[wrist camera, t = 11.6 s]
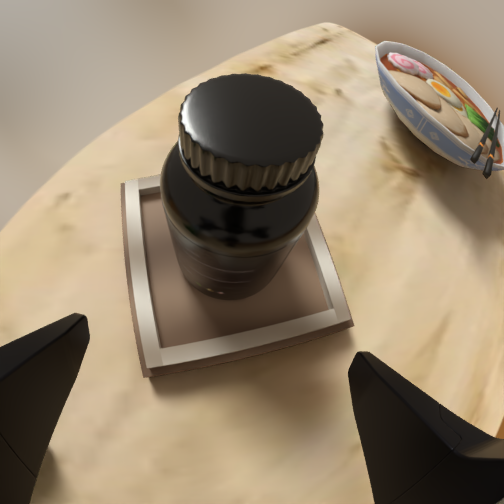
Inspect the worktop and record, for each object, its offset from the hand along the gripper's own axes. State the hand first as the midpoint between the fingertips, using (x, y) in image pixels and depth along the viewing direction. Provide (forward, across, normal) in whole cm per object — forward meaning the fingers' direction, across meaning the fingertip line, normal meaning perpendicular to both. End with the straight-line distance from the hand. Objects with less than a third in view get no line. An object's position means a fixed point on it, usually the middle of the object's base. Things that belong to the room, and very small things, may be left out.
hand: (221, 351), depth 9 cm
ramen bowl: (+28, -24, -14) cm, 40 cm away
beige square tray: (+12, 0, +2) cm, 13 cm away
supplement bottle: (+11, 0, +1) cm, 11 cm away
